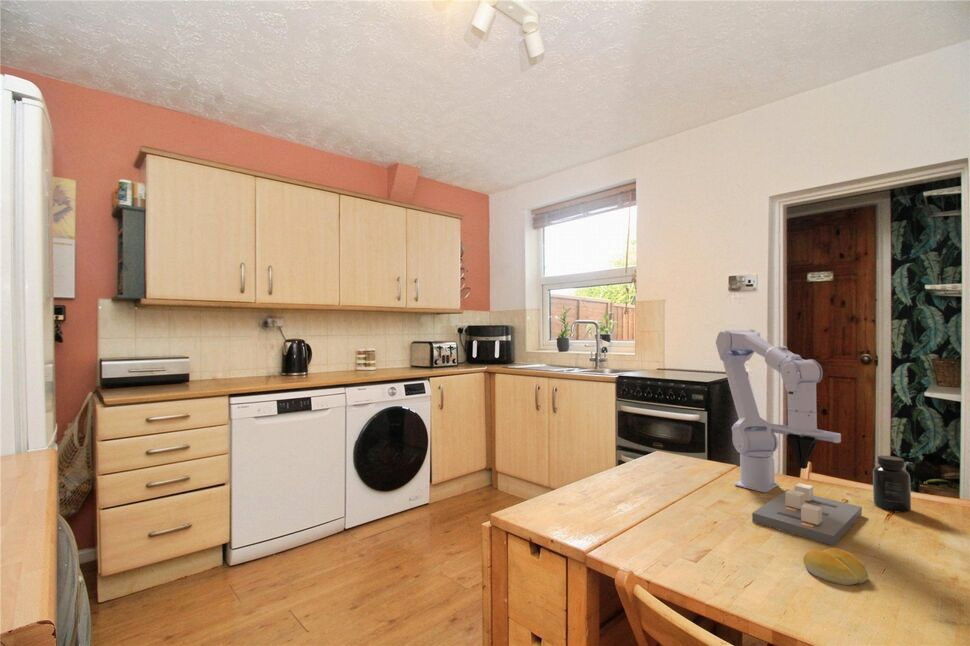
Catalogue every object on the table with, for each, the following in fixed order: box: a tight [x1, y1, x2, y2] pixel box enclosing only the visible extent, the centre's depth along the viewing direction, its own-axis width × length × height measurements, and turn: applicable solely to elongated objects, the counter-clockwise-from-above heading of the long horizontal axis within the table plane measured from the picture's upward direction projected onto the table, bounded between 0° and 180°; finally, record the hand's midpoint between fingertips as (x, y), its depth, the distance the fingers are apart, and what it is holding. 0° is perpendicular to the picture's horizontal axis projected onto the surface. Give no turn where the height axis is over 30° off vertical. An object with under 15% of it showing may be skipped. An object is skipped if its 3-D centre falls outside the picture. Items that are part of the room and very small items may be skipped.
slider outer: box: [801, 503, 822, 525], centre depth 98 cm, size 3×3×3 cm
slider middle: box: [785, 489, 805, 509], centre depth 106 cm, size 3×3×3 cm
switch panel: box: [751, 489, 863, 547], centre depth 104 cm, size 23×15×2 cm, turn 129°
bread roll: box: [803, 547, 869, 586], centre depth 81 cm, size 8×9×4 cm
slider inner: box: [794, 482, 814, 502], centre depth 111 cm, size 3×3×3 cm
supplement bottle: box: [872, 455, 912, 513], centre depth 110 cm, size 7×7×12 cm
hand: (802, 467), depth 108 cm, fingers closed
